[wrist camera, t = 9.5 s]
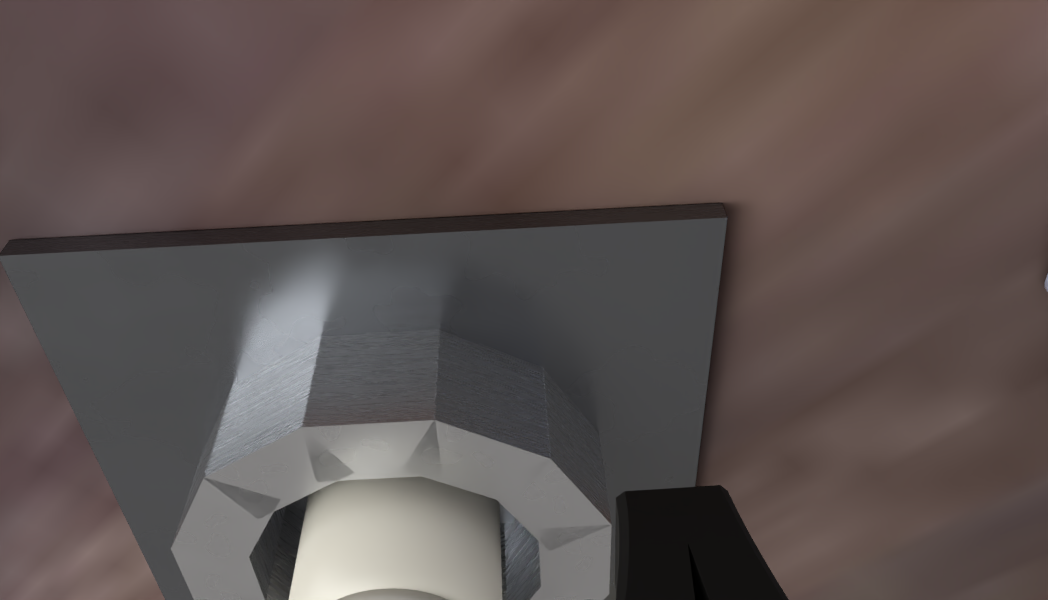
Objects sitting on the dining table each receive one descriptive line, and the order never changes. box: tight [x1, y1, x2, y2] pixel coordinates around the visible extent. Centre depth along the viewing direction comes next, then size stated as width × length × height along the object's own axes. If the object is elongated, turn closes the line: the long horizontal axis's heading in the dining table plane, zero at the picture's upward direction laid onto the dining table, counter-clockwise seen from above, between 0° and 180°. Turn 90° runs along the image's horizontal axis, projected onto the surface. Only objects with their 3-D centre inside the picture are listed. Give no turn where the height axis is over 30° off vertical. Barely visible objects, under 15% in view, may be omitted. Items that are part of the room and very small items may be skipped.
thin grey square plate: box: [0, 203, 727, 600], centre depth 24 cm, size 16×16×4 cm
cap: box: [289, 476, 502, 600], centre depth 22 cm, size 5×5×5 cm
